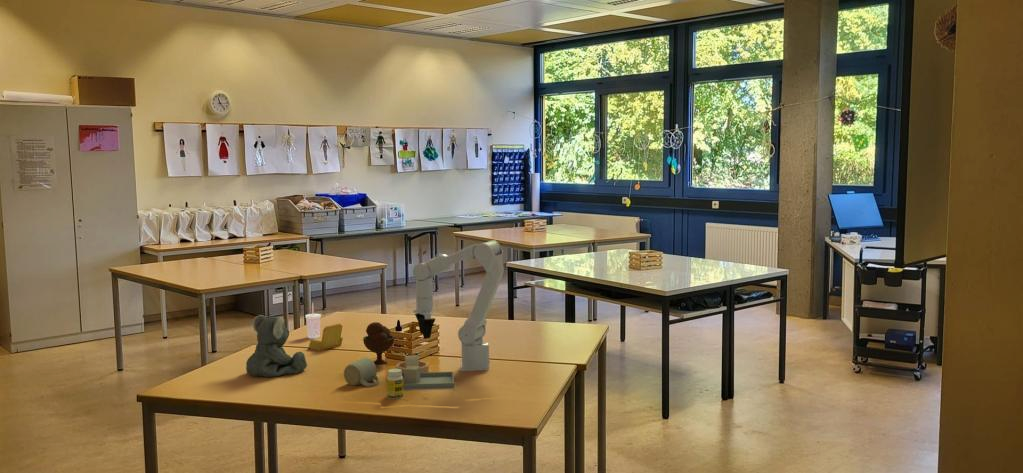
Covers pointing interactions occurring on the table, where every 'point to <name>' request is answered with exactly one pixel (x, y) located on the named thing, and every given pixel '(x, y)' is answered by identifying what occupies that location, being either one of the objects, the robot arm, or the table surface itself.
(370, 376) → the ceramic mug
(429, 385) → the parts tray
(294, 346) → the table surface
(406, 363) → the sage green cube
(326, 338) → the yellow bent piece
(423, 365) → the bowl
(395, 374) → the supplement bottle
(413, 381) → the beige square block
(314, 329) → the beverage cup
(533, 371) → the table surface
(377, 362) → the ice cream bowl
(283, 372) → the koala plush
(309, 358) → the table surface
